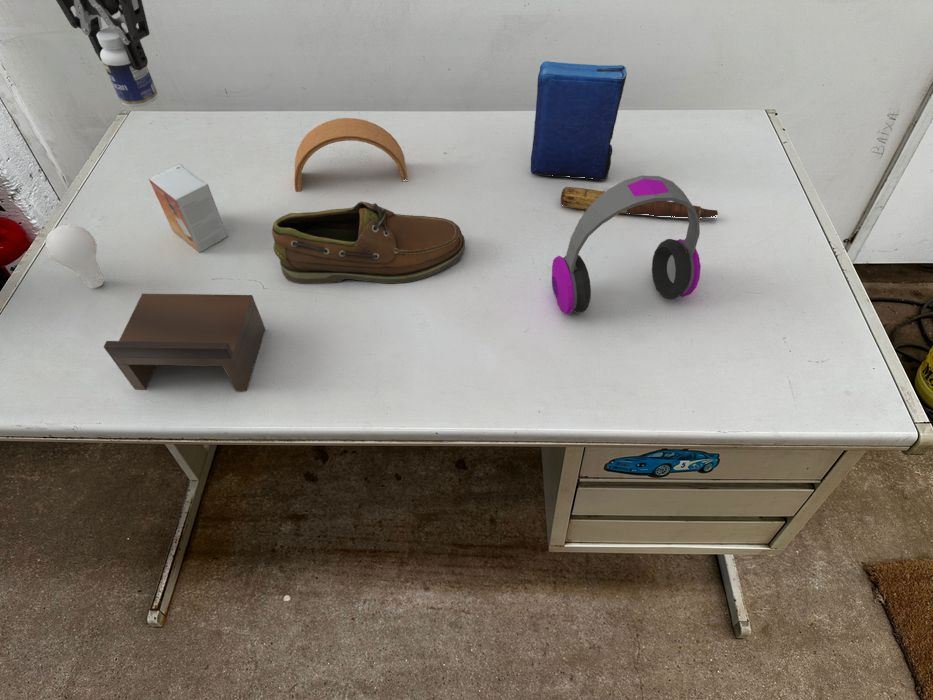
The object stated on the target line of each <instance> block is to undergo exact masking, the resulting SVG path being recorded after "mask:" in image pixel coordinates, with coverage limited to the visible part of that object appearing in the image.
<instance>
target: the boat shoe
mask: <svg viewBox="0 0 933 700" xmlns="http://www.w3.org/2000/svg"><path fill="white" fill-rule="evenodd" d="M271 233H272V239H273V241H274V243H273V247H272V248H273V252H274V254H275V255H276V256H277V258H278V260H279V264H280V267H281V272H282V274H283V276H284V277H285V279H286V280H287V281H289V282H292V283H295V284H296V283H297V284H338V283H340V282H342V281H343V280H356V281H363V282H370V283H371V282H372V283H380V284H405V283H411V282H416V281H419V280H423V279H426V278H428V277H431V276H433V275H436V274H437V273H440V272H441V271H444V270H446V269H447V268H449V267H450V266H452V265H454V264H455V263H456V262H457V261H458V260H459V259H461V257H462V256H463V255H464V253H465V251H466V239H465V236H464V234H463V233H462V230H461V228H460V226H459V225H458V224H457V223H456V222H455V221H453V220H450V219H447V218H444V217H437V216H426V215H413V214H412V215H410V214H401V213H394V212H393V211H391V210H389V209H388V208H385V207H382V206H379V205H378V204H377V203H370V202H367V201H359V202H358V203H356V204H355V205H354V206H352V207H347V208H345V207H344V208H332V209H326V210H319V211H310V212H309V211H306V212H290V213H287V214H284V215H282V216H281V217H279V218H277V219H276V220H274V222H273V224H272V229H271Z"/></svg>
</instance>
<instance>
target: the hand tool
mask: <svg viewBox="0 0 933 700" xmlns="http://www.w3.org/2000/svg"><path fill="white" fill-rule="evenodd" d="M605 191H606V190H605ZM605 191H604V190H598V189H591V188H583V187H572V186H565V187H564V188H563V189H562V191H561V194H560V205H561V204H562V205H563V206H562V205H561V206H562V207H566V208H571V209H572V208H573V209H581V210H585V211H586V210H587V209H588V208H589V206H590V205H591V204H592V203H593V202H594V201H595V200H596V199H597V198H599V197H600V196H601V195H602V194H603V193H604V192H605ZM692 205H693V204H692ZM693 207H694V208H695V210H696V212H697V215H698V217H699V218H700V217H702V219H704V218H703V217H711V216H712V217H713V216H715V215H718V216H719V212H718V210H717V209H708V208H703V207H701V206H700V205H699V206H698V205H693ZM621 213H628V214H627V215H629V213H630V214H649V215H654V216H671V217H672V216H673V217H674V216H675V217H688V209H687V207H686V206H685V205H684V204H680V203H677V202H673V201H654V202H650V203H645V204H641V205H637V206H635V207H633V208H630V209H628V210H626V211H623V212H621ZM715 217H716V216H715Z"/></svg>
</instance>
